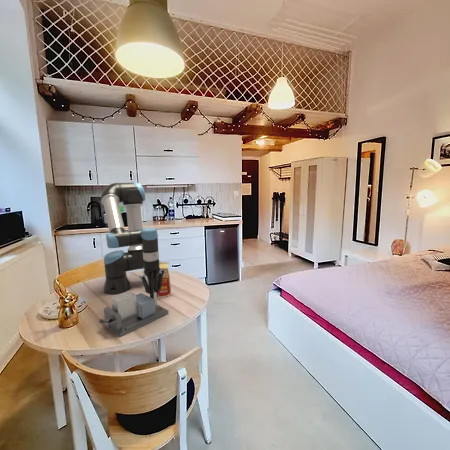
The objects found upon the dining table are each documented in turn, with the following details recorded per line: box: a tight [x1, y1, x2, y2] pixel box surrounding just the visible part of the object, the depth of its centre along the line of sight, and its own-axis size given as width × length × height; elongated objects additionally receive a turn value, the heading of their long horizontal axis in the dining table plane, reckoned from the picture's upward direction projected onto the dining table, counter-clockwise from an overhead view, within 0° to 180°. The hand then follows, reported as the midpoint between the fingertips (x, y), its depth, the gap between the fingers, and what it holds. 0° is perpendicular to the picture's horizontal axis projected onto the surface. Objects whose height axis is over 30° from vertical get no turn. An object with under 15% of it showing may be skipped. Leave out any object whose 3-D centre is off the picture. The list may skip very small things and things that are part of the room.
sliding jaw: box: [136, 292, 156, 319], centre depth 124 cm, size 12×8×7 cm, turn 49°
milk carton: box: [157, 261, 172, 300], centre depth 148 cm, size 9×9×20 cm
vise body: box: [98, 304, 169, 338], centre depth 121 cm, size 16×29×8 cm, turn 139°
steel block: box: [110, 290, 138, 326], centre depth 118 cm, size 6×9×12 cm, turn 139°
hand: (154, 304), depth 130 cm, fingers closed
